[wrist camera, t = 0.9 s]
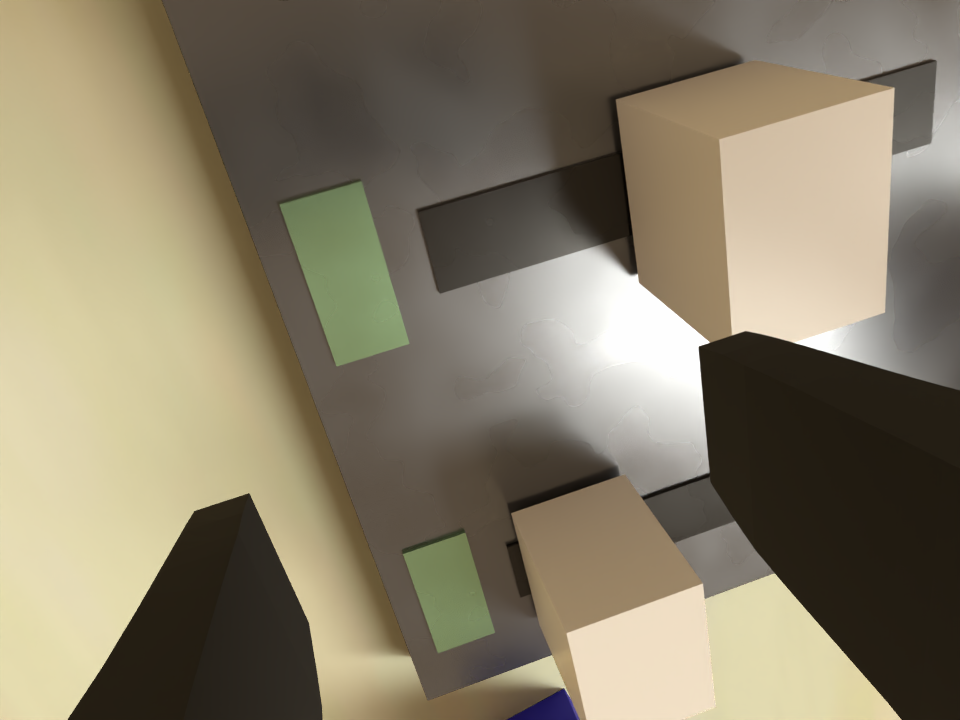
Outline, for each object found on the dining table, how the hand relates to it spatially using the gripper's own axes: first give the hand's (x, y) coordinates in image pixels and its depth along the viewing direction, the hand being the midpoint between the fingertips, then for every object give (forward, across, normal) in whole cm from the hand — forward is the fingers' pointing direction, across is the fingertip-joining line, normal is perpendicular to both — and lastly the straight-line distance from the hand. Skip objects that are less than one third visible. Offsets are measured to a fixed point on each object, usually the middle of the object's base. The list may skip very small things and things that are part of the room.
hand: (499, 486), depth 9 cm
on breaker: (+8, -2, +9) cm, 12 cm away
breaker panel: (+9, -6, +3) cm, 12 cm away
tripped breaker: (+8, -6, 0) cm, 10 cm away
